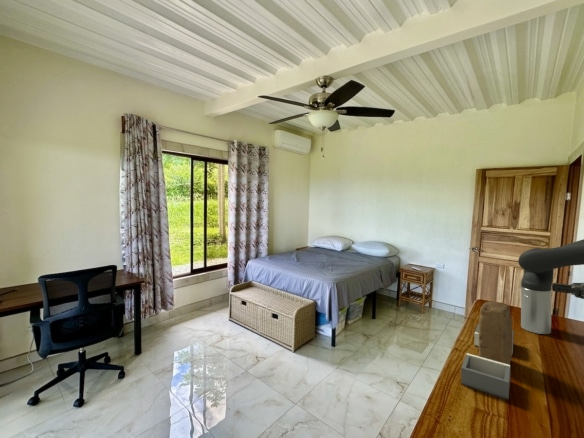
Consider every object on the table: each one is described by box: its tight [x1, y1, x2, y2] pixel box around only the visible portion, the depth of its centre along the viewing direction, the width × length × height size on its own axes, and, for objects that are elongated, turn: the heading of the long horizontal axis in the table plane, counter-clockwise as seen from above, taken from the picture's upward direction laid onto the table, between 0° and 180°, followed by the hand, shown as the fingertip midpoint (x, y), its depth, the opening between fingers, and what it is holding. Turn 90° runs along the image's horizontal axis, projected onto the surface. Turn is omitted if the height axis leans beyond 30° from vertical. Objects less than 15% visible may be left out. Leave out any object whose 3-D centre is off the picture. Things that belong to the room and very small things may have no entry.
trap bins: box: [460, 323, 514, 401], centre depth 92 cm, size 37×11×5 cm, turn 140°
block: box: [478, 300, 513, 366], centre depth 91 cm, size 11×8×20 cm
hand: (552, 286), depth 81 cm, fingers closed
